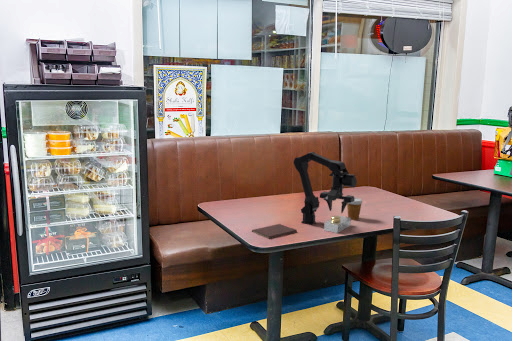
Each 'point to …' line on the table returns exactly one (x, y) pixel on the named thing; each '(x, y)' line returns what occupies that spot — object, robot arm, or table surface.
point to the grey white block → (337, 224)
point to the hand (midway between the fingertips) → (336, 211)
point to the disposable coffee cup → (354, 209)
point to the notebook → (274, 231)
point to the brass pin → (335, 219)
